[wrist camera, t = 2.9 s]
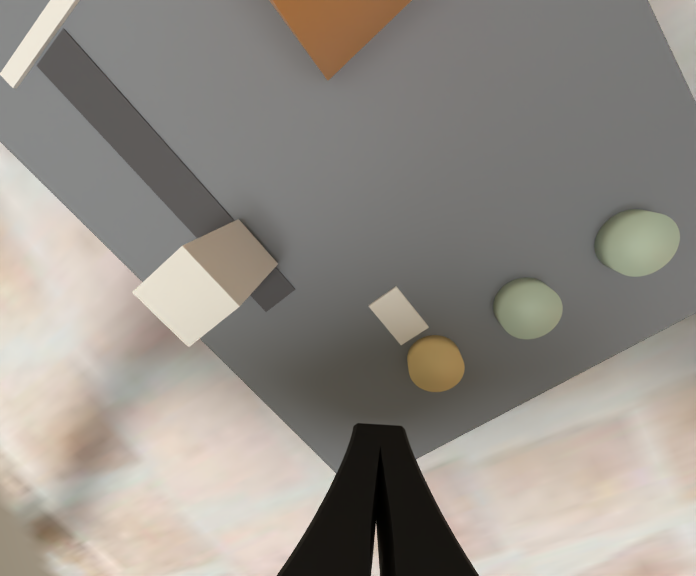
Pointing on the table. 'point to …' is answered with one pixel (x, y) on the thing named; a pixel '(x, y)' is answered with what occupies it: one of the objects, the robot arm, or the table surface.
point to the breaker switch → (206, 280)
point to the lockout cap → (336, 26)
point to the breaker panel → (380, 189)
